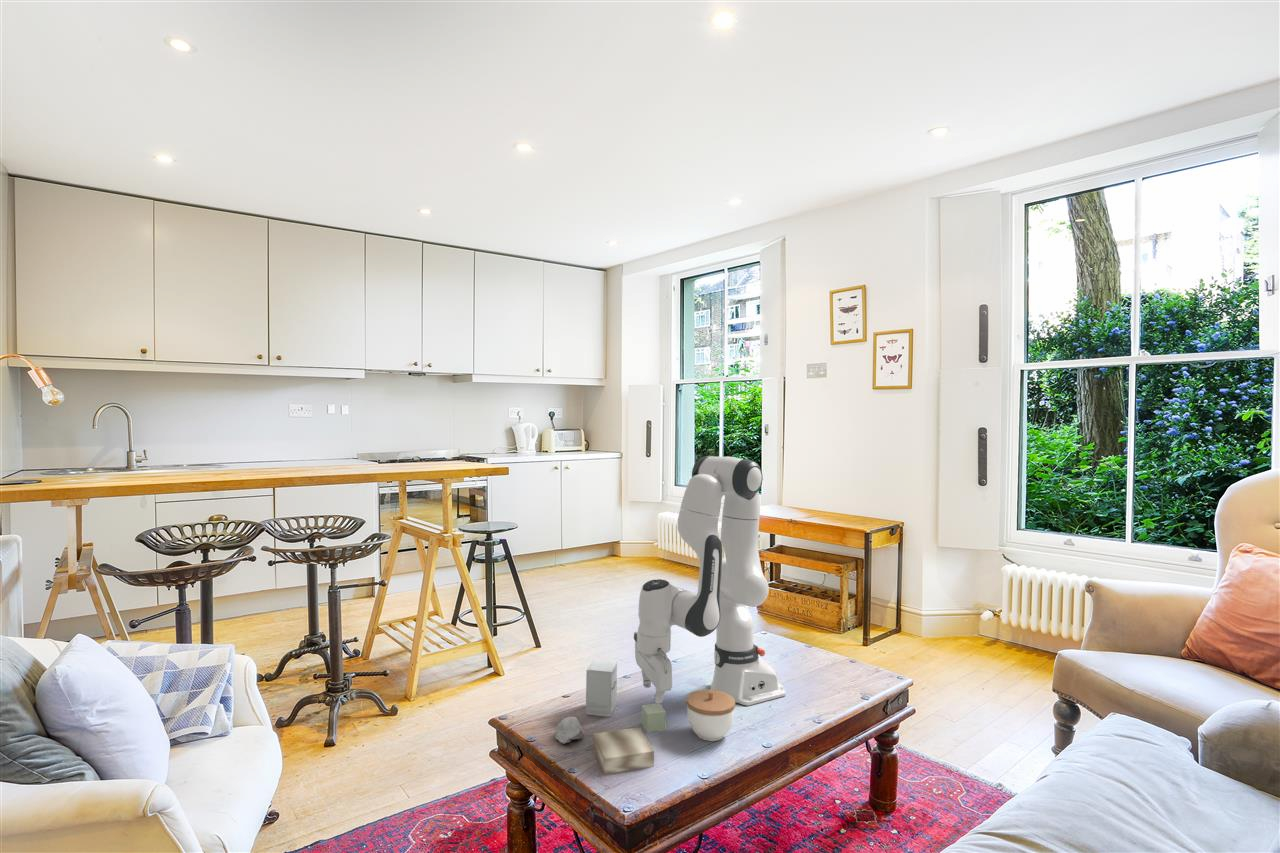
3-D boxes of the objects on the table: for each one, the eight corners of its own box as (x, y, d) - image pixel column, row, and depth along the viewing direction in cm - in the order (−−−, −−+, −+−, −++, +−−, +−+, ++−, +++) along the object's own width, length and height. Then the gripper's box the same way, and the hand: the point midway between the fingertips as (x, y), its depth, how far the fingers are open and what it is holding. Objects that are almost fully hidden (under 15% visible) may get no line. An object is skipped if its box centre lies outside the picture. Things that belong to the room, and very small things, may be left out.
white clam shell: (591, 739, 164) (592, 719, 164) (567, 750, 159) (567, 730, 159) (570, 727, 170) (570, 708, 170) (546, 738, 165) (546, 718, 165)
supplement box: (611, 717, 176) (611, 672, 175) (585, 714, 177) (585, 669, 177) (617, 705, 183) (617, 661, 183) (592, 703, 184) (592, 659, 184)
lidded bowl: (708, 717, 176) (709, 678, 176) (744, 735, 167) (745, 693, 166) (676, 732, 168) (676, 691, 168) (712, 752, 158) (712, 708, 158)
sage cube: (659, 721, 174) (659, 703, 174) (665, 730, 169) (665, 711, 169) (641, 723, 173) (641, 705, 172) (647, 732, 168) (647, 714, 168)
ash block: (638, 742, 163) (638, 727, 163) (653, 767, 152) (654, 751, 152) (592, 749, 160) (593, 733, 160) (604, 775, 148) (604, 758, 148)
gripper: (679, 655, 161) (677, 710, 161) (653, 629, 181) (651, 677, 181) (655, 657, 159) (653, 713, 160) (631, 630, 179) (630, 679, 179)
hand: (652, 694), depth 170 cm, fingers open, 8 cm apart
